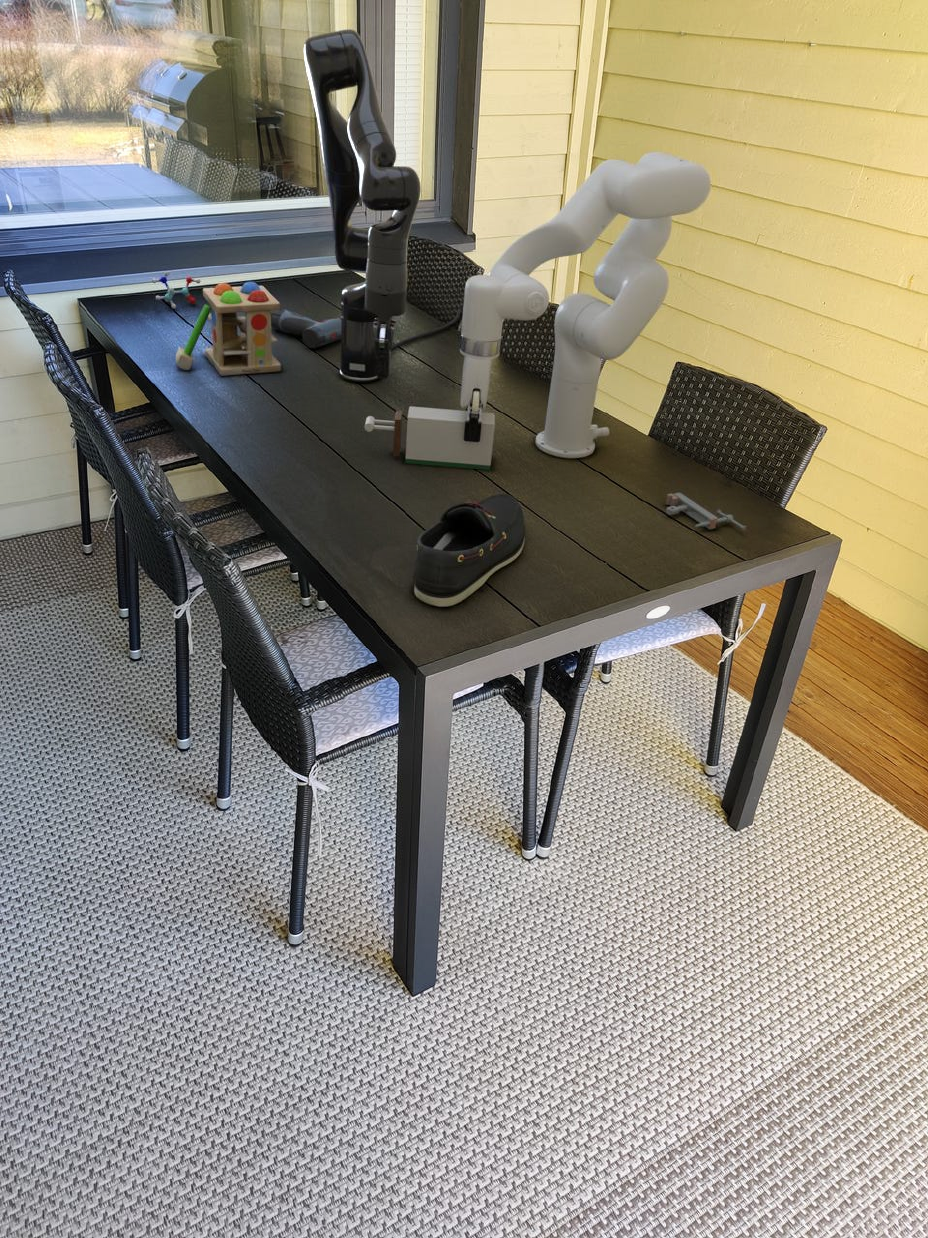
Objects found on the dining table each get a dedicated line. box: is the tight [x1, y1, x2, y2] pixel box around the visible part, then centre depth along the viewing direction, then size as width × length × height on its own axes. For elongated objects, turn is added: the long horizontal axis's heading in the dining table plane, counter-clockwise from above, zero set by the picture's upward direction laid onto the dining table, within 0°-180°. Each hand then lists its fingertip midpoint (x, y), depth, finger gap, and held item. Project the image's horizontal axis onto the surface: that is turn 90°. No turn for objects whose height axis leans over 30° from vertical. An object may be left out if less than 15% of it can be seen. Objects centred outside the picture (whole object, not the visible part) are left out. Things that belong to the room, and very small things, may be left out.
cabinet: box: [404, 405, 496, 471], centre depth 195 cm, size 17×6×10 cm, turn 89°
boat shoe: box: [412, 493, 526, 608], centre depth 163 cm, size 13×33×10 cm, turn 147°
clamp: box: [665, 492, 747, 532], centre depth 184 cm, size 15×2×10 cm
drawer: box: [363, 410, 403, 458], centre depth 195 cm, size 22×4×8 cm, turn 89°
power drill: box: [271, 308, 341, 349], centre depth 252 cm, size 5×19×20 cm
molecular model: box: [151, 270, 201, 310], centre depth 262 cm, size 12×10×10 cm
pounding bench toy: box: [174, 281, 282, 377], centre depth 225 cm, size 23×14×18 cm, turn 116°
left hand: (382, 376), depth 188 cm, fingers closed
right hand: (471, 433), depth 194 cm, fingers closed on cabinet, 5 cm apart
